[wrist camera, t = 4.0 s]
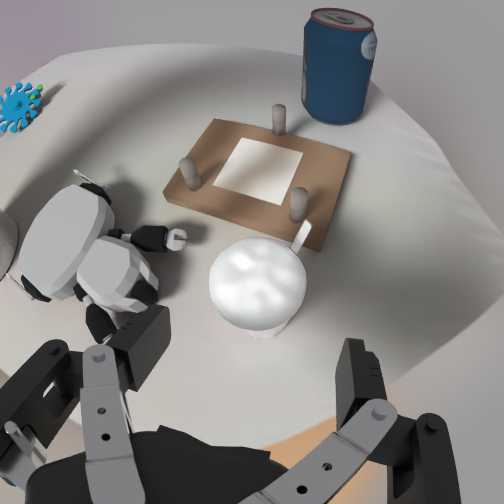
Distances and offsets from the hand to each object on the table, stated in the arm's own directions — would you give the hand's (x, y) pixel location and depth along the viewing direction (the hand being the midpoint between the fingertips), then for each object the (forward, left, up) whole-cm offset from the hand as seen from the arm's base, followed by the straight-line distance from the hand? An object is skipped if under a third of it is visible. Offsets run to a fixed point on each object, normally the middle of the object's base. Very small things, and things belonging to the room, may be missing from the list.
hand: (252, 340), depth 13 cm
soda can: (-2, +26, -8) cm, 28 cm away
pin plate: (-6, +14, -8) cm, 17 cm away
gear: (-52, +17, -8) cm, 55 cm away
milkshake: (-1, +3, -8) cm, 9 cm away
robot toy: (-16, +1, -8) cm, 18 cm away
